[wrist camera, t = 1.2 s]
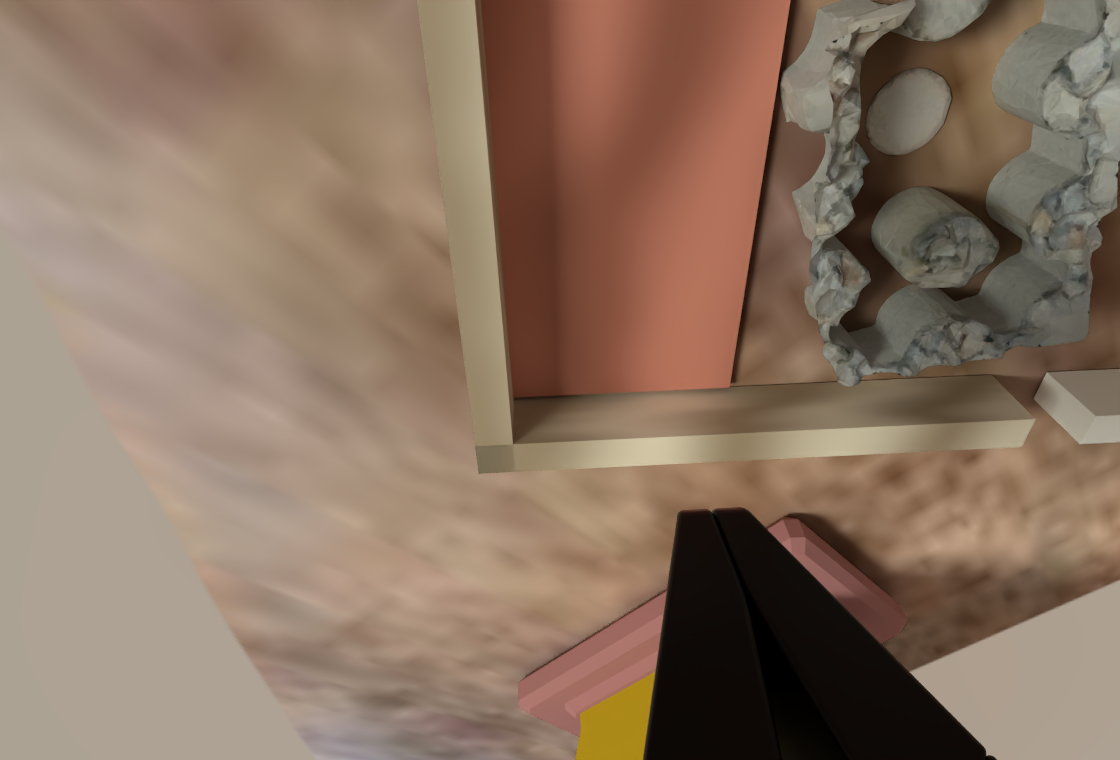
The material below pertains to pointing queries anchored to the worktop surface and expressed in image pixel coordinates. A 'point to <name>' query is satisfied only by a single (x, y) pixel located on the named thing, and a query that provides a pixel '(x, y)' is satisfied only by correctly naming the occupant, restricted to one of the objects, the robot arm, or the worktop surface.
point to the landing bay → (1084, 403)
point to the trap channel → (636, 243)
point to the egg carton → (935, 219)
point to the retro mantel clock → (632, 648)
